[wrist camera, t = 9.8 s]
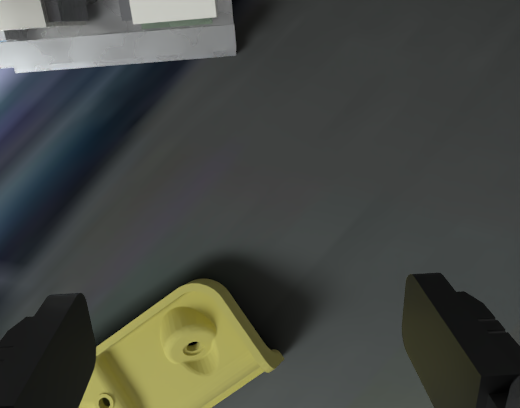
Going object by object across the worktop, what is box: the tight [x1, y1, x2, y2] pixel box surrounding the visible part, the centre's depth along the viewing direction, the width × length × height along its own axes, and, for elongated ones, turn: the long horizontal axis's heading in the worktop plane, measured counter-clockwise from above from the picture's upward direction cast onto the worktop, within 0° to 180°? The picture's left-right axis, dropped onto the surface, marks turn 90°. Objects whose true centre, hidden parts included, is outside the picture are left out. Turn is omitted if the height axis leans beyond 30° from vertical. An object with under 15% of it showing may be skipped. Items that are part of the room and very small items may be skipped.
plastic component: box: [79, 279, 284, 408], centre depth 38 cm, size 20×7×10 cm
